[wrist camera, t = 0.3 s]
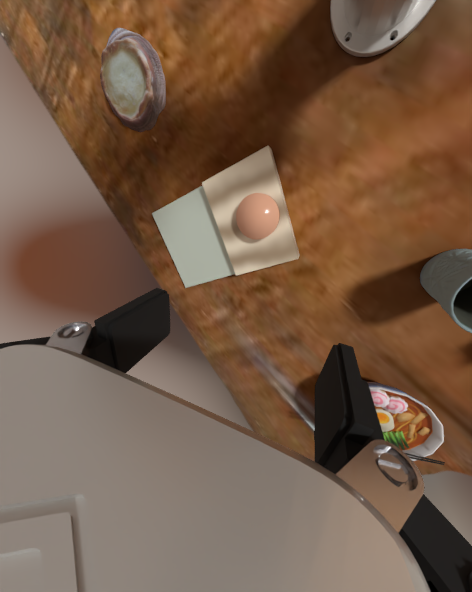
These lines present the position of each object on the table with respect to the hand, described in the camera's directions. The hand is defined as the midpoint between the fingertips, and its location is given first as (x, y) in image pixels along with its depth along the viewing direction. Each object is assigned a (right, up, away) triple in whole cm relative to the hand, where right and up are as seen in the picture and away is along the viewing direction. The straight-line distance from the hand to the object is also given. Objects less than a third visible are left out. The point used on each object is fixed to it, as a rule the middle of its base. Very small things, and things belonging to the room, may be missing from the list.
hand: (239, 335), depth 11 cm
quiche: (-20, +45, +29) cm, 57 cm away
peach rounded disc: (+4, +18, +27) cm, 33 cm away
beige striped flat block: (+4, +18, +31) cm, 36 cm away
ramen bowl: (+33, -24, +39) cm, 56 cm away
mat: (-10, +15, +38) cm, 42 cm away
